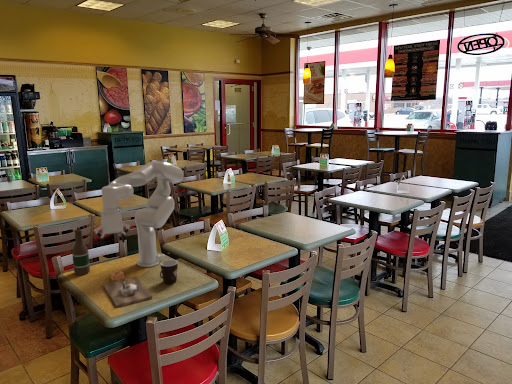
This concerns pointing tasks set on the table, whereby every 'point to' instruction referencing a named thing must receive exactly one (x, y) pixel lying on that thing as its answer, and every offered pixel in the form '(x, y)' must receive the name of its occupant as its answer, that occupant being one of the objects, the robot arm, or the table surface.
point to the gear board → (128, 299)
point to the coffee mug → (169, 271)
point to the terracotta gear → (117, 275)
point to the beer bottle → (80, 255)
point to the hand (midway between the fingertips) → (113, 243)
